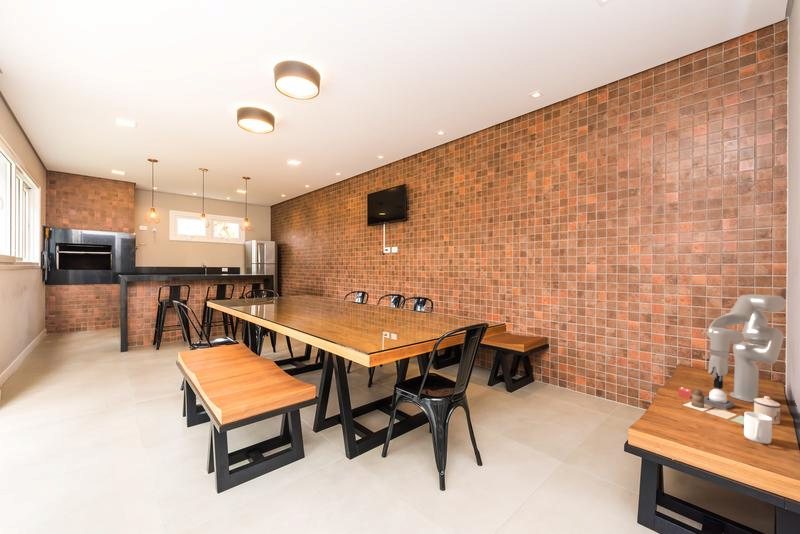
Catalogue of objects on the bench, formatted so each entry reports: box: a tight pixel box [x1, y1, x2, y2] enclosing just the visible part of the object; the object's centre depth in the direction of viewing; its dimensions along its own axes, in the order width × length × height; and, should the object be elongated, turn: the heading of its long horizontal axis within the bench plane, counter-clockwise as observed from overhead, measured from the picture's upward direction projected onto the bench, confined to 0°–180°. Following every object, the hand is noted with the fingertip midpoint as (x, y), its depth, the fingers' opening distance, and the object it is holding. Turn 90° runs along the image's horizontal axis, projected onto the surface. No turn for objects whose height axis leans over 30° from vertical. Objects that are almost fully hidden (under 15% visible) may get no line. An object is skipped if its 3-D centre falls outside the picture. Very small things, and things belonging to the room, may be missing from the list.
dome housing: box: [704, 395, 736, 410], centre depth 182 cm, size 10×10×3 cm
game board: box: [683, 401, 744, 428], centre depth 171 cm, size 13×30×1 cm, turn 27°
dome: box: [708, 388, 728, 404], centre depth 182 cm, size 7×7×7 cm
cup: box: [743, 411, 773, 445], centre depth 147 cm, size 8×12×10 cm
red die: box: [678, 386, 692, 400], centre depth 192 cm, size 5×5×6 cm
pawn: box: [691, 389, 705, 408], centre depth 179 cm, size 5×5×9 cm
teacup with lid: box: [753, 395, 782, 426], centre depth 167 cm, size 12×9×12 cm
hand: (718, 387), depth 182 cm, fingers closed
